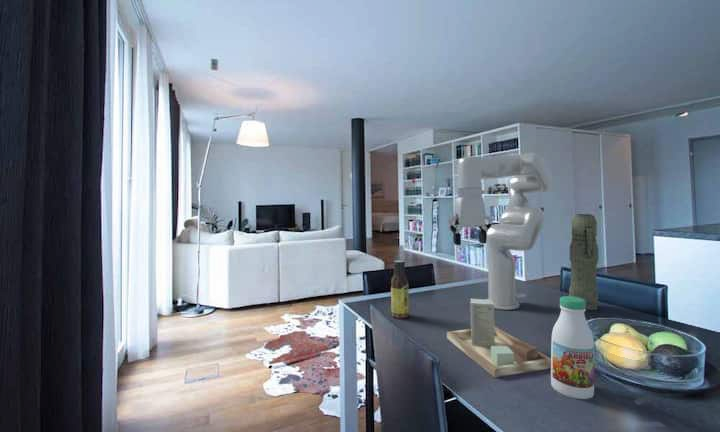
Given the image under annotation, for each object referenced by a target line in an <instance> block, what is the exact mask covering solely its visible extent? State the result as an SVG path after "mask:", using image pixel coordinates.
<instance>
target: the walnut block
mask: <svg viewBox="0 0 720 432" xmlns="http://www.w3.org/2000/svg"><path fill="white" fill-rule="evenodd" d="M538 349H539V347H536V346H534V345H531V344H530V343H528V342H525V341H521V343H517V344H513V345H512V352H513V353H514V361H515V362H517V363H520V362H527V361H533V360H538V351H539V350H538Z"/></svg>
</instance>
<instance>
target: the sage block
mask: <svg viewBox="0 0 720 432" xmlns="http://www.w3.org/2000/svg"><path fill="white" fill-rule="evenodd" d="M491 363H492V364H493V365H495V366H502V365H508V364H514V353H513V352H512V351H511V350H510V349H509V348H508V346H491Z"/></svg>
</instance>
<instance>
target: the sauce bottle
mask: <svg viewBox="0 0 720 432" xmlns="http://www.w3.org/2000/svg"><path fill="white" fill-rule="evenodd" d="M405 266H406V261H405V260H399V259H398V260H394V261H393V267H394V268H393V270H394V272H393V276H392V277H391V280H390V285H391V287H390V298H391V299H390V300H391V301H390V302H391V303H390V305H391V308H390V309H391V316H392V318H393V317H394V318H395V319H405V318H408V317H409V315H410V313H409V312H410V305H409V304H410V299H409V296H410V295H409V293H410V292H409V281H408V278H407V275H406V270H405Z"/></svg>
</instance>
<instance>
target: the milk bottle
mask: <svg viewBox="0 0 720 432" xmlns="http://www.w3.org/2000/svg"><path fill="white" fill-rule="evenodd" d="M559 308H560V313H559V316H558V319H557V320H556V322H555V324H554V326H553V328H552V332H551V341H550V343H551V345H550V347H551V348H550V358H551V368H550V385H551V388H553V389H554V390H555V391H556V392H558V393H559V394H562V395H564V396H566V397H569V398H573V399H579V400H588V399H592V398H593V397H594V395H595V341H594V335H593V333H592V330H591V328H590V326H589V324H588V322H587V319H586V315H585V312H587V311H586V309H585V308H586V301H585V300H584V299H582V298H578V297H573V296H569V295H566V296H561V297H559Z"/></svg>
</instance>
